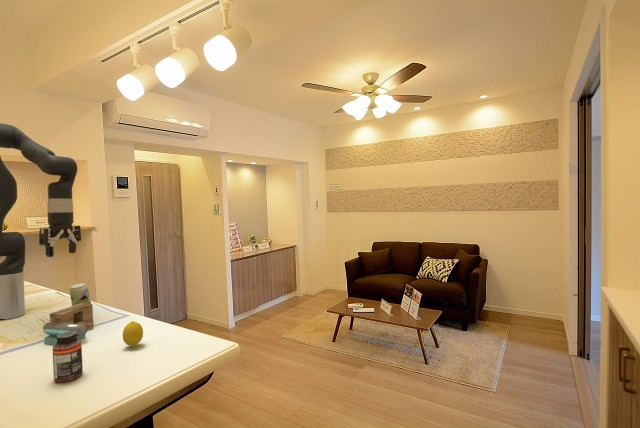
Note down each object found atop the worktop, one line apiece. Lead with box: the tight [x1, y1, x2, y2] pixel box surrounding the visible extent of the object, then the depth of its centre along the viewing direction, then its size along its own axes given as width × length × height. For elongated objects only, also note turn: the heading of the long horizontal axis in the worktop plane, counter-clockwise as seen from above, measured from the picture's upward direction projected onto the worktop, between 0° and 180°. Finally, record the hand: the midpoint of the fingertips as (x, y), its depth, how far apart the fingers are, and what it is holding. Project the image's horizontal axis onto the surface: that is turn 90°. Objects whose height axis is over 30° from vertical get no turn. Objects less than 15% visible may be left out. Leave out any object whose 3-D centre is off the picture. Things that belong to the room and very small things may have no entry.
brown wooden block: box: [49, 303, 95, 331], centre depth 120 cm, size 10×12×7 cm
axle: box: [42, 321, 89, 335], centre depth 109 cm, size 14×3×3 cm, turn 79°
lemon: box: [122, 320, 144, 348], centre depth 104 cm, size 6×6×8 cm
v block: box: [42, 323, 86, 346], centre depth 109 cm, size 9×7×5 cm
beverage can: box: [69, 282, 92, 306], centre depth 136 cm, size 6×7×12 cm
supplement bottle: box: [52, 331, 84, 383], centre depth 86 cm, size 6×6×11 cm
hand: (61, 254), depth 124 cm, fingers open, 8 cm apart
